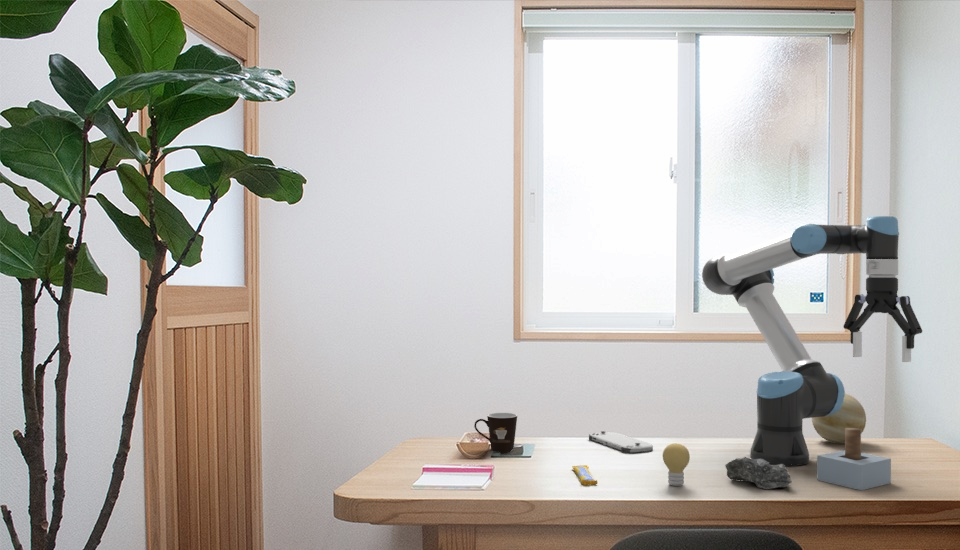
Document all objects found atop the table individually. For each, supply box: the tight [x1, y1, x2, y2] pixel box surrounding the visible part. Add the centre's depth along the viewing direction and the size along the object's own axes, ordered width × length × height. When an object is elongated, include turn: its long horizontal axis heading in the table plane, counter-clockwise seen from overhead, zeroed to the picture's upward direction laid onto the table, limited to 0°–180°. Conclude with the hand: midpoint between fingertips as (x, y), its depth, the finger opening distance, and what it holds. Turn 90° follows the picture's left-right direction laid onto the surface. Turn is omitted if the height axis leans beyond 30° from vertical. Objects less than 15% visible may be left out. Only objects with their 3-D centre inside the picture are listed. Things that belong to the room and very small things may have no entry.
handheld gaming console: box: [588, 430, 654, 454], centre depth 261 cm, size 23×3×10 cm
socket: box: [816, 449, 892, 491], centre depth 218 cm, size 12×12×6 cm
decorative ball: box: [811, 393, 867, 445], centre depth 262 cm, size 15×15×15 cm
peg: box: [844, 428, 862, 460], centre depth 218 cm, size 4×4×12 cm
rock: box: [724, 456, 792, 490], centre depth 215 cm, size 13×13×10 cm
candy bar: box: [572, 464, 598, 486], centre depth 222 cm, size 17×4×2 cm, turn 2°
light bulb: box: [662, 442, 691, 487], centre depth 214 cm, size 6×6×10 cm
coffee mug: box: [473, 412, 518, 454], centre depth 254 cm, size 12×9×10 cm
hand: (881, 359), depth 228 cm, fingers open, 13 cm apart
